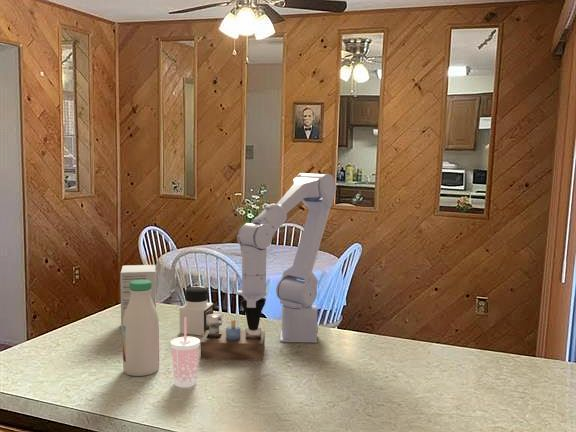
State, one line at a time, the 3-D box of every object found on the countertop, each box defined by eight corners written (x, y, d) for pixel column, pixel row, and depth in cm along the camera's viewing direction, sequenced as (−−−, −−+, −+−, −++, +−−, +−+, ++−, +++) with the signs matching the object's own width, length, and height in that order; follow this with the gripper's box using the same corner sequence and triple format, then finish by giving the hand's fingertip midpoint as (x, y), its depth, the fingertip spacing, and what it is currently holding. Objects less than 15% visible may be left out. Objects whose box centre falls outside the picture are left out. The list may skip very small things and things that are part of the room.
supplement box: (122, 323, 151) (121, 265, 149) (156, 322, 153) (156, 264, 151) (120, 334, 141) (119, 272, 140) (156, 332, 144) (156, 271, 142)
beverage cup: (206, 380, 113) (206, 316, 112) (187, 391, 108) (187, 323, 106) (183, 374, 116) (183, 311, 115) (164, 384, 111) (163, 319, 109)
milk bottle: (166, 367, 120) (166, 279, 118) (143, 379, 113) (142, 287, 111) (139, 361, 123) (138, 276, 121) (115, 373, 116) (114, 283, 114)
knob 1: (223, 337, 131) (223, 314, 131) (220, 342, 128) (221, 318, 127) (207, 336, 132) (207, 313, 131) (204, 341, 128) (205, 318, 127)
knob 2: (261, 349, 132) (261, 326, 131) (260, 354, 128) (260, 331, 127) (246, 348, 132) (246, 325, 131) (244, 354, 128) (244, 330, 127)
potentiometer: (241, 335, 130) (241, 318, 130) (239, 340, 127) (239, 322, 126) (227, 335, 130) (227, 317, 130) (225, 340, 127) (225, 322, 126)
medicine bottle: (204, 335, 142) (204, 291, 140) (179, 333, 143) (178, 289, 142) (213, 327, 149) (213, 285, 147) (189, 325, 150) (189, 283, 149)
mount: (264, 346, 134) (264, 331, 134) (262, 360, 125) (262, 343, 125) (206, 345, 134) (206, 330, 134) (200, 358, 125) (200, 342, 125)
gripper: (240, 267, 135) (239, 319, 136) (233, 280, 121) (233, 338, 122) (268, 267, 135) (267, 320, 136) (265, 280, 120) (264, 339, 122)
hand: (253, 328), depth 129 cm, fingers closed, pressing on knob 2
